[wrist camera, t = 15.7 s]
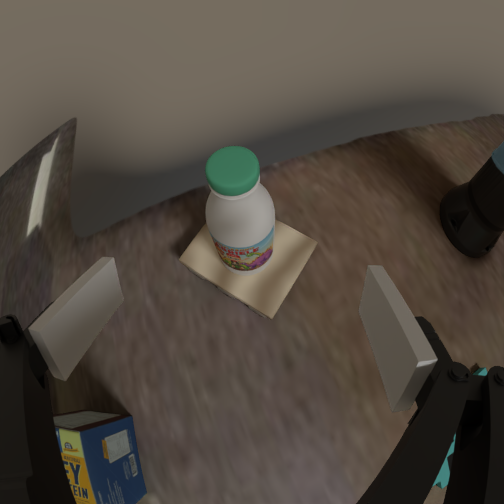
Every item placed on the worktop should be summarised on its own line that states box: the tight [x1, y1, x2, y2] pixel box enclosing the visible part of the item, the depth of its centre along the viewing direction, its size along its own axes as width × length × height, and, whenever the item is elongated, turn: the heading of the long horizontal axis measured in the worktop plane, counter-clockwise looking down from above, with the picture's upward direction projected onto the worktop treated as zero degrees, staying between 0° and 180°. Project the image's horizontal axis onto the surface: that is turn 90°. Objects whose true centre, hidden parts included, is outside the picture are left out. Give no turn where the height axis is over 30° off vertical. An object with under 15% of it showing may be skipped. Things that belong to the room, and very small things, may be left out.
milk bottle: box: [205, 146, 275, 276], centre depth 33 cm, size 8×8×20 cm
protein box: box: [53, 410, 147, 504], centre depth 28 cm, size 10×15×16 cm
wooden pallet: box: [179, 219, 318, 320], centre depth 44 cm, size 16×13×4 cm
